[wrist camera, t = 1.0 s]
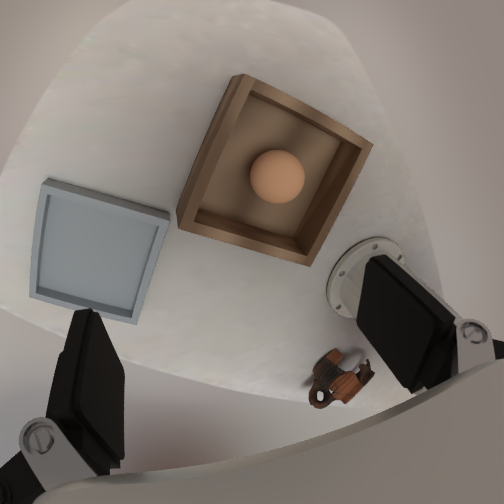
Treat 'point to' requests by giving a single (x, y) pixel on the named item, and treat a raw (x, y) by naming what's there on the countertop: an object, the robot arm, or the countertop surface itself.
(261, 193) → the ball
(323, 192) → the bin
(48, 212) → the tray
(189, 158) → the countertop surface
